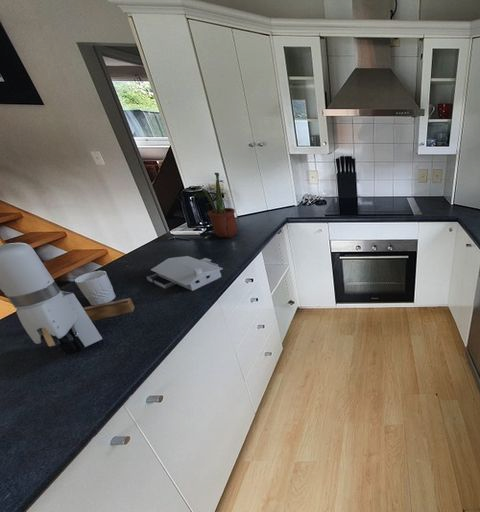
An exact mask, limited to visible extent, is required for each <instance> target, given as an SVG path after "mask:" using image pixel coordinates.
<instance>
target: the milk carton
mask: <svg viewBox="0 0 480 512" xmlns="http://www.w3.org/2000/svg"><path fill="white" fill-rule="evenodd" d="M61 292H62V294H63V295H64V296H65V297H66V299H67V300H68V301H69V302H70V304H71V305H72V307H73V308H74V309H75V311H76V313H77V315H78V318H77V320H76V322H75V323H74V324H75V325H74V326H75V329H76V331H77V336H78V337H79V338H80V340H81V341H82V343H83V344H84V346H85V347H84V348H86V347H88V346H91V345H93V344H95V343H97V342H99V341H101V340H103V337H102V335H101V334H100V332H99V331H98V329H97V328H96V326H95V324H94V323H93V321H91V320H90V318H89V317H88V315H87V314H86V312H85V311H84V309H83V308H84V307H83V306H82V304H81V303H80V301H79V300H78V298H77V297H76V295H75V294H74V292H68V291H63V290H61Z"/></svg>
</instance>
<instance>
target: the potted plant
mask: <svg viewBox="0 0 480 512" xmlns="http://www.w3.org/2000/svg"><path fill="white" fill-rule="evenodd" d="M213 174H214V175H215V178H216V180H215V192H214V194H215V203H214V202H213V201H212V199H211V196H210V195H209V193H208V192H207V189H205V188H203V186H202V185H196V186H192V188H193V189H194V188H201V191H202V192H196V193H194V194H193V195H192V196H191V199H194V198H203V197H204V198H205V197H206V198H207V200H208V201H209V202H207V205H211V207H212V209H211V210H208V211H207V212H206V215H207V216H208V217H209V220H210V223H211V226H212V230H213V232H214V234H215V235H216V236H217V237H218V238H220V239H224V240H227V239H231V238H234V237H235V236H236V235H237V232H238V225H237V220H236V216H235V213H236V210H235V209H234V208H231V207H225V206H224V201H223V195H229V194H227V193H226V192H222V191H224V188H221V185H220V184H221V183H223V184H224V183H225V182H224V180H222V179H221V180H220V173H219V172H213ZM215 205H216V207H215Z"/></svg>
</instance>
